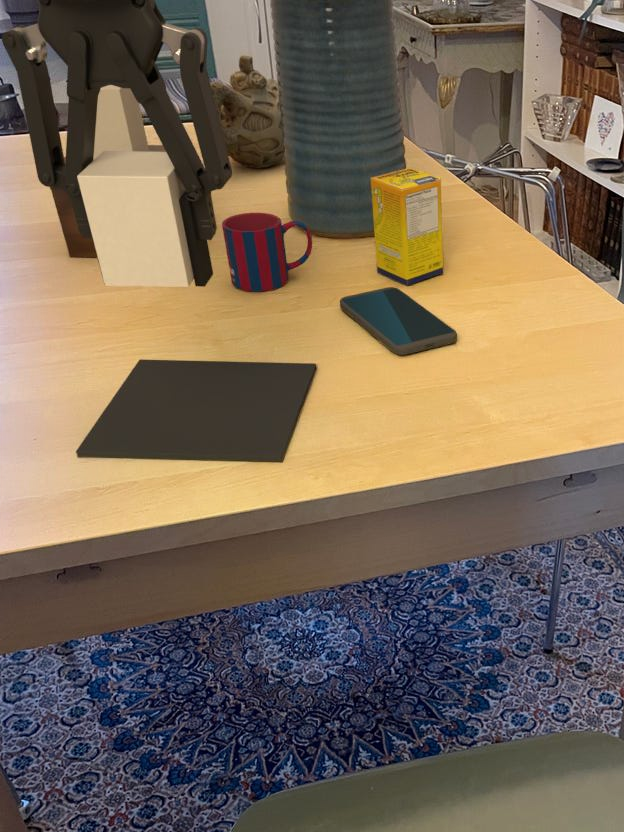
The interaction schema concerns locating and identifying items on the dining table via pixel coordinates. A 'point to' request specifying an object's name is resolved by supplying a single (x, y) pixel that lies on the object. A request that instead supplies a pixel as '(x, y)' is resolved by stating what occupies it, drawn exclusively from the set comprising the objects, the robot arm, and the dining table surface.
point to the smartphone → (398, 320)
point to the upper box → (137, 219)
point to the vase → (337, 109)
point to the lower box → (118, 122)
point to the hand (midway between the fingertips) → (159, 278)
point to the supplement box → (407, 225)
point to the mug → (259, 251)
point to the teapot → (250, 116)
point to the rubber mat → (202, 411)
